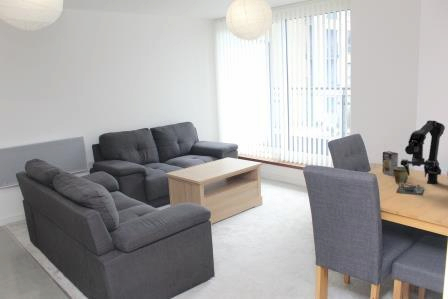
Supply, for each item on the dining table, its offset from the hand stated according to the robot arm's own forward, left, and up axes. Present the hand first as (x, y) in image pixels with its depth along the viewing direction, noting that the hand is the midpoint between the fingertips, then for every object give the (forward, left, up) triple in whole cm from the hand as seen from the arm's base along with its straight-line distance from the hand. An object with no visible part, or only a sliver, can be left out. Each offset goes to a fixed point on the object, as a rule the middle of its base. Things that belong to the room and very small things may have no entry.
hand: (417, 176), depth 244 cm
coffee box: (-37, -21, -9) cm, 44 cm away
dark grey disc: (+3, -4, -6) cm, 8 cm away
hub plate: (+4, -3, -9) cm, 10 cm away
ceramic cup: (-15, -11, -9) cm, 21 cm away
